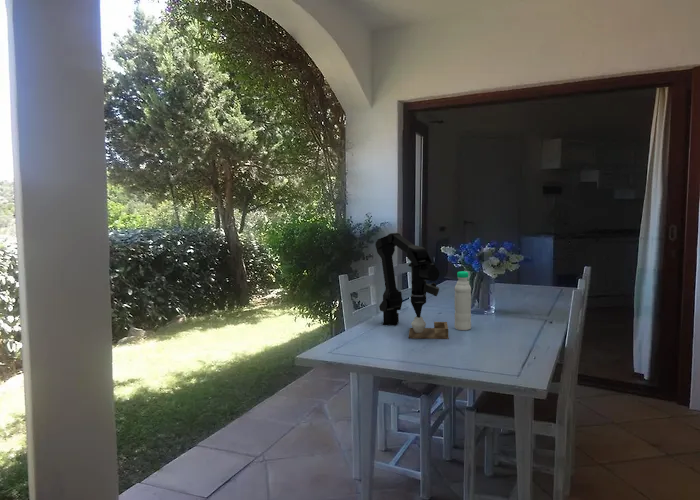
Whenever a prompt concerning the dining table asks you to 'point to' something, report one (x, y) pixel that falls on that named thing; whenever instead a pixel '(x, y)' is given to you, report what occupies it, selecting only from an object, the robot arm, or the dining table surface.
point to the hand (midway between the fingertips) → (418, 314)
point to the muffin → (418, 324)
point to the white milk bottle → (462, 302)
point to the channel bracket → (431, 332)
